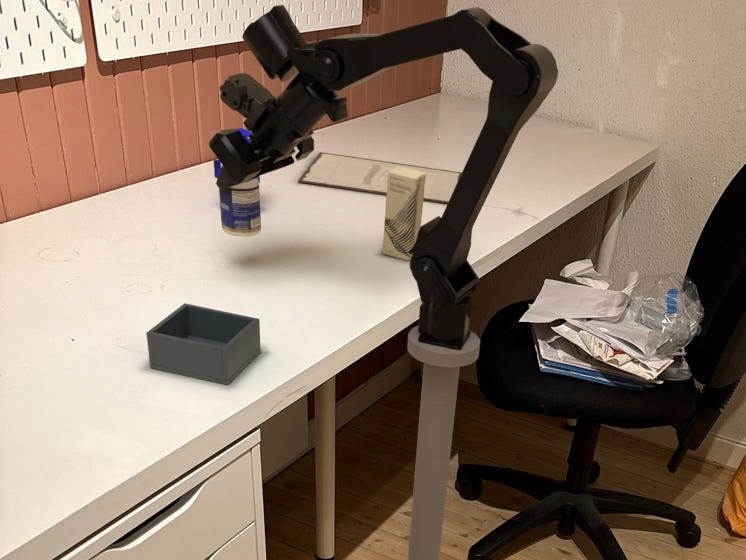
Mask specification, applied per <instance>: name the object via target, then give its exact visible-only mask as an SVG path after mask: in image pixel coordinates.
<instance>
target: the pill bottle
mask: <svg viewBox="0 0 746 560" xmlns="http://www.w3.org/2000/svg"><path fill="white" fill-rule="evenodd" d="M221 168H222V163H221ZM218 193H219V208H220V219H221V220H220V221H221V222H220V223H221V230H222V231H223V232H224V233H226V234H228V235H229V236H232V237H233V236H234V237H240V238H249V237H254V236H257V235H259V234H260V232H261V231H262V217H261V198H260V197H261V196H260V195H261V194H260V183H259V181H258V178H256V179H253V180H251V181H248V182H245V183H241V184H238V185H235V186H232V187H229V188H226V189H223V190H220V189H219V188H218Z"/></svg>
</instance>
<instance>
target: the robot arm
mask: <svg viewBox="0 0 746 560" xmlns="http://www.w3.org/2000/svg"><path fill="white" fill-rule="evenodd" d="M242 41H243V42H244V43H245V44H246V46H247V48H248V49H249V50H250V52H251V53H252V55H253V56H254V58H255V59H256V60H257V62H258V64H259V65H260V66H261V68H262V69H263V71H264V72H265V74H266V76H267V77H268V78H269V79H270V80H276V79H279V81H280V82H281V83H285V82H288V81H289V80H290V79H292V78H293V79H292V80H291V81H290V82H289V83H288V84H287V85H286V86H285V88H283V90H282V91H281V92H280V93H279V94H278V95H277V96H275V95H273V93H272V92H271V91H270V90H269V89H268V88H266V87H265V85H263V84H262V83H260V82H259V81H258V80H257V79H256V78H254V77H253V76H251V75H250V74H248V73H245V72H241V73H237V74H232V75H229V76H228V78H227V79H225V80H224V83H223V84H221V85H220V86H219V91H220V95H219V96H220V100H221V102H222V103H224V104H225V105H226V106H227V107H228V108H229V109H231V110H232V111H234V112H235V111H236V112H237V113H238V114H240V115H241V116H242V117H243V118H245V120H244V121H243V123H242V124H243V126H245V128H246V130H247V131H249V132H251V133H252V134H251V135H248V137H247V139H248V140H249V142H250V143H248V142H247V141H246V139H245V138H244V136H243V135H242V133H241V132H240V131H239V130H235V129H236V128H229V129H224V130H225V131H222V132H221V131H220V132H217V133H215V134H214V135H213V137H212V138H211V139H210V140H209V141H208V146H209V149H210V150H211V151H212V152H213V154H214V155H215V157H216V158H217V160H218V159H219V161H220V162H221V163H222V168H221V171H220V173H219V176H218V179H217V178H216V182H215V185H216V186H217V187H218V190H219V189H220V190H223V189H226V188H229V187H232V186H235V185H238V184H241V183H245V182H248V181H251V180H253V179H256V178H258V176H260V177H261V176H262V175H265V174H268V173H272V172H275V171H277V170H280V169H284V168H286V167H288V166H291V165H294V163H295V160H296V161H297V162H299V161H302V160H304V159H306V158H308V157H309V156H310V155H311V154H312V153H313V152H314V151H315V139H314V138H313V137H312V136H313V134H314V133H315V132H314V131H313V129H315V127H316V126H317V125H318V124H319V123H320V122H321V121H322V120H323V119H324V118H325V117H326V116H328V118H329V119H330V121H331V122H332V123H337V122H340V121H343V120H345V119H348V117H349V114H348V113H349V112H348V107H347V102H348V98H347V97H346V96H342V95H339V94H338V92H339V91H342V90H345V89H349V88H352V87H355V86H359V85H361V84H364V83H365V82H367V81H369V80H371V79H373V78H375V77H377V76H379V75H381V74H383V73H384V72H386V71H387V70H389V69H391V68H392V67H396V66H400V65H403V64H408V63H411V62H416V61H419V60H423V59H426V58H427V59H428V58H430V57H431V58H432V57H435V56H438V55H442V54H443V55H444V54H446V53H450V52H454V51H457V50H458V51H459V50H461V51H463V52H464V53H465V54H467V55H468V57H469V58H470V59H471V60H472V62H473V63H474V64H475V66H476V67H477V68H478V70H480V72H481V73H482V74H483V75H484V76H485V77H487V78H488V79H489V80H490V81H492V82H491V86H490V90H489V94H488V102H487V103H488V104H487V114H486V118H485V122H484V123H483V126H482V128H481V130H480V132H479V135H478V137H477V138H476V140H475V143H474V146H473V147H472V150H471V151H470V154H469V156H468V158H467V161H466V163H465V165H464V168H463V169H462V172H461V173H462V174H461V176H460V178H459V180H458V182H457V185H456V187H455V189H454V191H453V193H452V196H451V198H450V200H449V202H448V203H446V204H447V205H446V206H445V208H444V211H443V213H442V215H441V216H440V215H438V216H435V217H434V218H432V219H431V220H429V221H427V222H426V223H424V224H421V227H420V229H419V232H418V235H417V239H416V242H415V244H414V246H413V248H412V249H410V250H409V252H408V253H409V254H413V255H412V257H411V260H409V270H410V272H411V274H412V277H413V279H414V281H415V282H416V285H417V286H416V287H417V290H418V294H419V298H420V301H421V303H420V305H419V311H418V312H419V313H418V325H417V326H418V332H419V333H420V336H419V337H418V342H420V343H425V344H430V345H435V346H440V347H444V348H449V349H454V350H462V348H463V346H464V345H465V343H466V341H467V340H468V338H469V337H470V334H471V332H470V331H471V330H470V331H468V330H469V329H470V319H471V310H472V301H473V297H472V296H470V295H471V294H473V293H475V292H476V289H477V287H478V286H479V283H480V281H481V280H480V277H479V276H478V274H477V273H476V271H475V269H474V268H473V266H472V265H471V264H470V262H469V261H468V256H469V253H470V250H471V246H472V237H473V236H472V234H473V228H474V225H475V224H476V221H477V219H478V218H479V216H480V213H481V210H482V209H483V207H484V205H485V202H486V200H487V198H488V196H489V195H490V192H491V190H492V188H493V186H494V184H495V182H496V181H497V178H498V176H499V174H500V172H501V171H502V168H503V165H504V163H505V161H506V159H507V158H508V156H509V153H510V151H511V149H512V148H513V145H514V143H515V142H516V139H517V137H518V135H519V133H520V132H521V130H522V129H523V127H524V126H525V125H526V124H527V122H528V121H529V120H530V119H531V118H532V116H533V115H534V114H535V113H536V112H537V111H538V110H539V108H540V107H541V106H542V104H543V103H544V102H545V100H546V99H547V97H548V95H549V94H550V93H551V92H552V90H553V89H554V87H555V85H556V84H557V81H558V78H559V77H558V76H559V68H558V66H557V61H556V58H555V56H554V55H553V52H552V51H551V50H550V49H549V48H548V47H546V46H544V45H542V44H539V43H532V42H530V41H528V40H527V39H526V38H525V37H524V36H523V35H522V34H519V33H518V32H516V31H515V30H513V29H511V28H510V27H507V26H506V25H504V24H503V23H502V22H500V21H498V20H497V19H495V18H494V17H493V16H492V15H490V14H489V13H488V12H487V11H486V10H485V9H484V8H481V7H479V6H473V7H468V8H465V9H461V10H459V11H457V12H455V13H454V14H452V15H448V16H444V17H441V18H437V19H434V20H430V21H426V22H423V23H419V24H415V25H411V26H408V27H404V28H401V29H397V30H393V31H390V32H386V33H374V32H373V33H370V32H365V33H348V34H347V33H346V34H343V35H337V36H332V37H329V38H324V39H321V40H319V41H313V42H310V43H309V42H307V41H306V39H305V37H304V36H303V34H302V33H301V31H300V30H299V29H298V27H297V26H296V24H295V22H294V21H293V19H292V17H291V14H290V12H289V10H287V8H286V7H285V5H284V4H279V5H273V6H272V8H271V9H270V10H269V11H268V12H266V13H264V14H262V15H261V16H260V17H258V18H257V19H256V20H255V21H253V22H250V23H249V24H248V25H247V27H246V28H245V29H244V31H243V33H242ZM295 148H296V149H297V150H298V152H297V151H296V149H295ZM296 152H297V153H296ZM295 153H296V154H295ZM294 154H295V155H294ZM293 155H294V157H293Z"/></svg>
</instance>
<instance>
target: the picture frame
mask: <svg viewBox="0 0 746 560" xmlns="http://www.w3.org/2000/svg"><path fill="white" fill-rule="evenodd" d="M397 166H400V167H404V168H409V169H413V170H417V171H421V172H425V173H426V179H425V188H424V199H423V201H432V202H438V203H445V204H448V202H449V200H450V198H451V196H452V193H453V191H454V189H455V187H456V185H457V182H458V180H459V178H460V176H461V174H462V172H461V171H453V170H446V169H440V168H433V167H425V166H419V165H412V164H405V163H399V162H392V161H384V160H378V159H371V158H365V157H357V156H351V155H344V154H343V155H342V154H338V153H337V154H336V153H331V152H330V153H329V152H323V151H319V153H318V154H317V155H316V157H314V159H313V160H312V162H311V163H310V164H309V165H308V167H307V168H306V170H305V171H304V172H303V173H302V175H301V176H300V177H299V178H298V180H297V182H302V183H306V184H314V185H320V186H329V187H336V188H341V189H348V190H355V191H362V192H369V193H375V194H381V195H382V194H383V195H387V183H388V172H389V171H391V170H392V169H394V168H395V167H397Z"/></svg>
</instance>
